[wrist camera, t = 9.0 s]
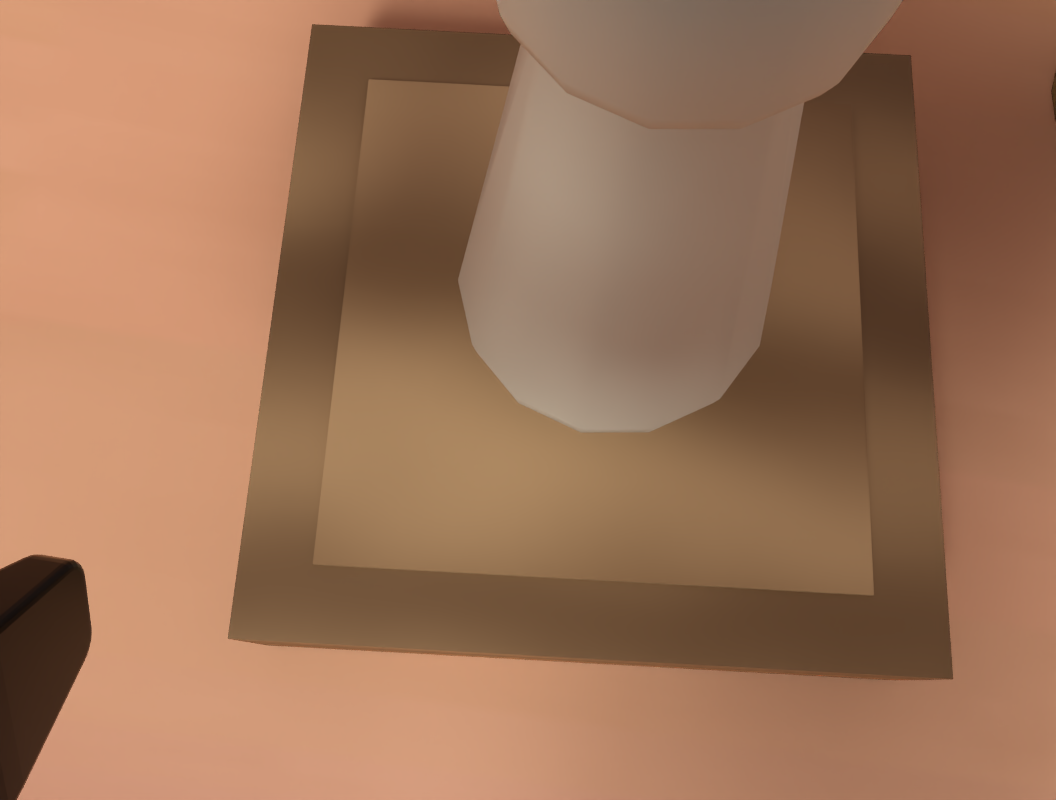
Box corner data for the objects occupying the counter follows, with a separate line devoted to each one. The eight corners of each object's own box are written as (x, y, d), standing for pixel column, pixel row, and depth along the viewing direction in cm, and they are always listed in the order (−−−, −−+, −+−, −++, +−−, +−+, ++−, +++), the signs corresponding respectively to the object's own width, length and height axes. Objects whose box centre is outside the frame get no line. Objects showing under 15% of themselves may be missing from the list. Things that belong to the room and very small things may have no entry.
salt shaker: (662, 165, 22) (859, -545, 9) (791, 387, 20) (1234, -96, 8) (421, 269, 21) (277, -353, 8) (537, 508, 19) (572, 187, 7)
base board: (894, 680, 22) (956, 679, 19) (266, 644, 22) (225, 637, 19) (866, 126, 26) (913, 51, 23) (335, 98, 26) (310, 19, 23)
